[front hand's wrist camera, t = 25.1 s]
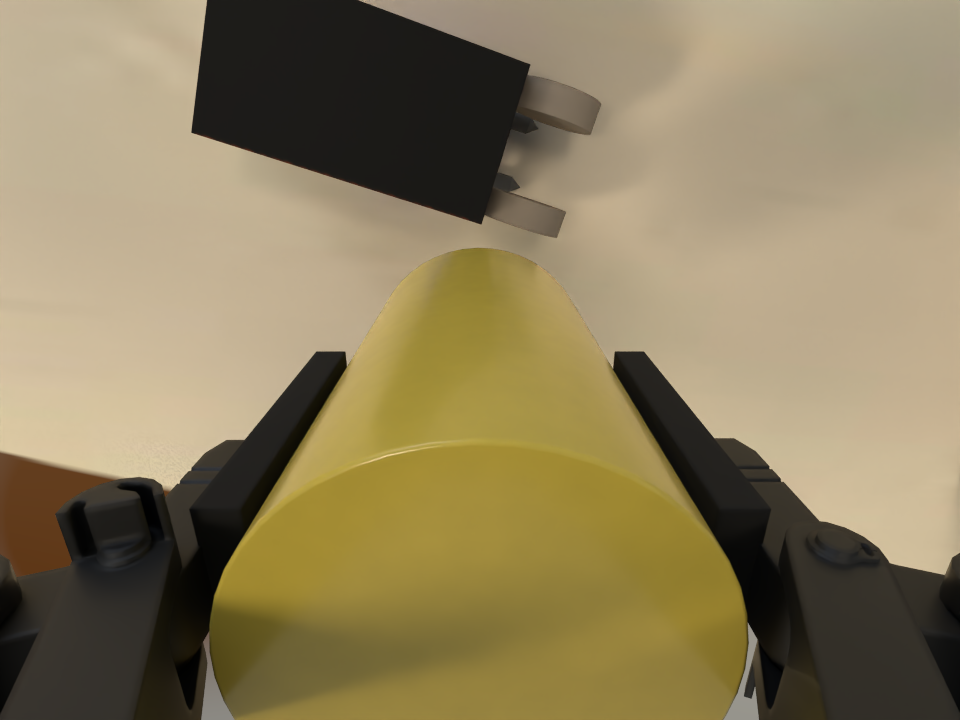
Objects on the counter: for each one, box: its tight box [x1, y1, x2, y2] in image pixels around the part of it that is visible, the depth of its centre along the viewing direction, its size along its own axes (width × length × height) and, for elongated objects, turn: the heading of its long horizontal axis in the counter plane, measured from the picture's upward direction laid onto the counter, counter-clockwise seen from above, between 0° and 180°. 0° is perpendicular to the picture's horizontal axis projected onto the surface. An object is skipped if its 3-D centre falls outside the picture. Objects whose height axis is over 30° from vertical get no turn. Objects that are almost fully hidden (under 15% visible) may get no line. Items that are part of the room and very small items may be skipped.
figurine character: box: [191, 0, 601, 238], centre depth 23 cm, size 7×8×15 cm
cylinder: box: [209, 248, 749, 720], centre depth 13 cm, size 7×7×12 cm
